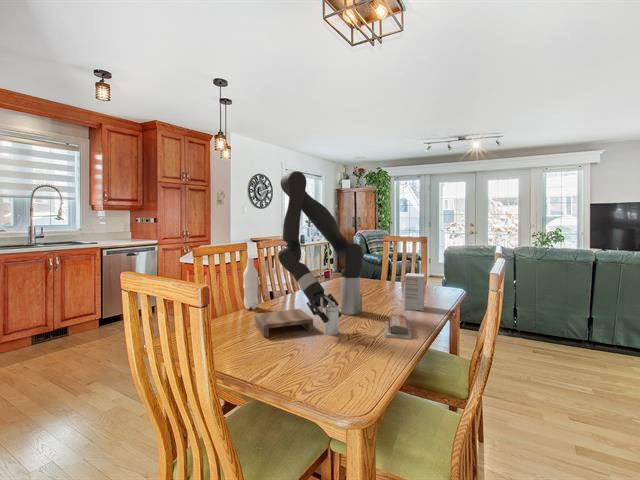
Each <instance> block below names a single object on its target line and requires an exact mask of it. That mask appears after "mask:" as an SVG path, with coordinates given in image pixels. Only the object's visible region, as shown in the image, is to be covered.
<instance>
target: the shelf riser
mask: <svg viewBox="0 0 640 480" xmlns="http://www.w3.org/2000/svg"><path fill="white" fill-rule="evenodd" d="M296 325H297V326H298V325H301V327H303V328H304V329H306V330H307V331H308V332H314V318H313V317H312V316H310V315H309V314H307V313H306V312H305V311H304V310H302V309H301V308H296V309H288V310H287V309H286V310H278V311H277V310H276V311H268V312H260V313H255V314H254V326H255V327H256V329H257V330H258V332H259V331H260V332H259V333H260V334H261V336H262V337H263V338H265V339H267V338H269V337H270V334H269V333H270V332H269V330H270V329H272V328H273V329H274V328H280V327H287V326H288V327H289V326H296Z"/></svg>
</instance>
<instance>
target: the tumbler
mask: <svg viewBox="0 0 640 480" xmlns="http://www.w3.org/2000/svg"><path fill="white" fill-rule="evenodd" d="M339 311H340V308H339V306H337V307H335V306H332V305H331V306H329V307H325V315H326V316H327V317H328V319H329V321H328V322H327V323H325V334H327V335H329V336H336V335H338V334H340V333H339V330H340V329H339V319H340V317H339Z"/></svg>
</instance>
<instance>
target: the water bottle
mask: <svg viewBox="0 0 640 480" xmlns="http://www.w3.org/2000/svg"><path fill="white" fill-rule="evenodd" d="M246 261H247V262H246V268H245V269H244V271H243V275H242V276H243V285H242V288H243V291H244V292H243V293H244V298H243V306H244V308H245V309H246V310H248V309H249V310H250V309H251V310H255V309H257V308H258V307H259V297H258V290H259V273H258V271H257V269H256V267H255V265H254V264H255V261H254V258H253V257H249V258H247V260H246Z"/></svg>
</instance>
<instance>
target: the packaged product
mask: <svg viewBox="0 0 640 480" xmlns="http://www.w3.org/2000/svg"><path fill="white" fill-rule="evenodd" d="M384 337H385V338H393V339H409V340H411V339H412V331H411V326H410V322H408V321H407V317H406V315H403V314H390V315H389V320H385V322H384Z"/></svg>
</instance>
